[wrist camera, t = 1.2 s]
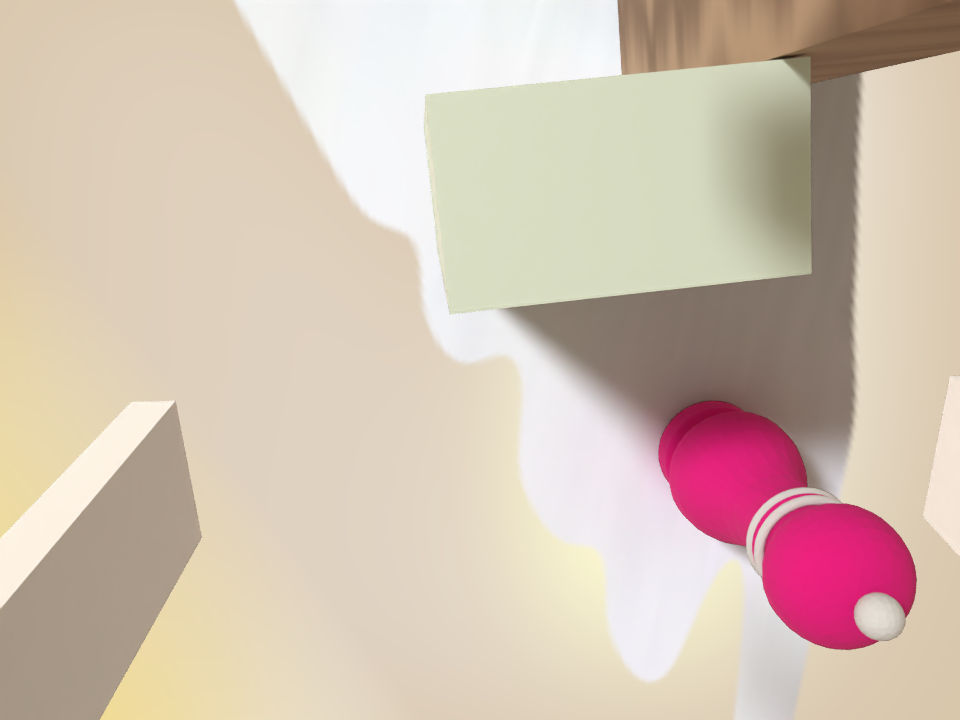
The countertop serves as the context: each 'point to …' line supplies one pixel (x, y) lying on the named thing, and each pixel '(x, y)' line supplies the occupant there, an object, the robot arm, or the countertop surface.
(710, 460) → the pepper mill
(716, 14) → the walnut post
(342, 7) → the countertop surface
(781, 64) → the sage box
